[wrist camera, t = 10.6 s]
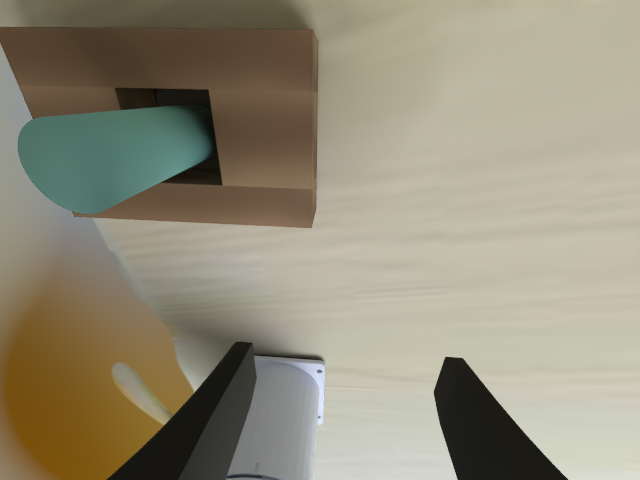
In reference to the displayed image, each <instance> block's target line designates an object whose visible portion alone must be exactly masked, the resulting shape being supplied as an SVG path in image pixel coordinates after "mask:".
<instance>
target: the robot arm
mask: <svg viewBox="0 0 640 480" xmlns="http://www.w3.org/2000/svg"><path fill="white" fill-rule="evenodd" d="M324 382H325V363H324V362H323V361H320V360H307V359H294V358H281V357H267V356H254V353H253V345H252V343H247V342H236V343H234V344H233V346H232V347H231V348H230V350H229V351H228V352H227V354H226V355H225V356H224V358H223V359H222V360H221V361H220V363H219V364H218V365H217V366H216V368H215V369H214V370H213V371H212V373H211V374H210V375H209V376H208V377H207V379H206V380H205V381H204V382H203V383H202V385H201V386H200V387H199V388H198V389H197V390H196V392H195V393H194V394H193V395H192V396H191V398H189V400H188V401H187V402H186V403H185V404H184V405H183V406H182V407H181V408H180V409H179V411H178V412H177V413H176V414H175V415H174V416H173V417H172V418H171V419H170V420H169V421H168V422H167V423H166V424H165V425H164V426H163V427H162V428H161V430H160V431H158V433H157V434H155V435H154V436H153V437H152V438H151V439H150V440H149V441H148V442H147V443H146V444H145V445H144V446H143V447H142V448H141V449H140V450H139V451H138V452H137V453H136V454H134V456H132V457H131V458H130V459H129V460H128V461H127V462H126V463H125V464H124V465H122V466H121V467H120V468H119V469H118V470H117V471H116V472H115V473H114V474H112V475H111V476H110V477H109V478H108V479H107V480H313V472H314V459H315V446H316V434H317V425H321V424H322V423H323V407H324ZM434 396H435V402H436V407H437V412H438V416H439V421H440V425H441V428H442V431H443V435H444V438H445V441H446V444H447V447H448V451H449V454H450V457H451V460H452V463H453V466H454V469H455V472H456V476H457V479H458V480H568V479H567V478H566V477H565V476H564V475H563V474H562V473H561V472H560V471H559V470H558V469H557V468H556V467H555V466H554V465H553V464H552V463H551V461H550V460H549V459H548V458H547V457H546V456H545V455H544V454H543V453H542V452H541V451H540V450H539V449H538V447H537V446H536V445H535V444H534V443H533V442H532V441H531V440H530V439H529V438H528V436H527V435H526V434H525V433H524V432H523V431H522V430H521V429H520V427H519V426H518V425H517V424H516V423H515V422H514V420H513V419H512V418H511V417H510V416H509V414H508V413H507V412H506V411H505V410H504V409H503V407H502V406H501V405H500V404H499V403H498V401H497V400H496V399H495V398H494V397H493V395H492V394H491V393H490V392H489V390H488V389H487V388H486V387H485V385H484V384H483V383H482V382H481V380H480V379H479V378H478V377H477V375H476V374H475V373H474V372H473V370H472V369H471V368H470V367H469V365H468V364H467V363H466V362H465V360H464V359H463V358H454V357H445V360H444V363H443V366H442V369H441V372H440V375H439V378H438V381H437V384H436V387H435V390H434Z"/></svg>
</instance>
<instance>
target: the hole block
mask: <svg viewBox="0 0 640 480" xmlns="http://www.w3.org/2000/svg"><path fill="white" fill-rule="evenodd" d="M0 43H1V45H2V48H3V50H4V52H5V55H6V57H7V59H8V62H9V64H10V66H11V69H12V71H13V73H14V76H15V78H16V80H17V83H18V85H19V87H20V90H21V92H22V95H23V97H24V99H25V101H26V104H27V106H28V109H29V111H30V113H31V116H32V118H33V119H35V118H39V117H48V116H59V115H71V114H83V113H94V112H106V111H118V110H129V109H141V108H153V107H157V104H156V100H155V95H154V91H153V88H159V89H207V90H209V96H210V103H211V110H212V116H213V123H214V130H215V137H216V143H217V150H218V157H219V164H220V170H221V171H218V170H191V169H186V170H184V171H182V172H180V173H178V174H176V175H174V176H172V177H170V178H168V179H166V180H164V181H162V182H160V183H158V184H156V185H154V186H152V187H150V188H148V189H146V190H144V191H142V192H140V193H138V194H136V195H134V196H132V197H130V198H128V199H126V200H124V201H122V202H120V203H118V204H116V205H114V206H112V207H110V208H108V209H106V210H104V211H102V212H99V213H95V214H82V213H77V212H73V211H72V212H73V214H74V216H75V217H93V218H114V219H135V220H155V221H176V222H197V223H217V224H238V225H258V226H279V227H300V228H312V224H313V220H314V215H315V211H316V178H317V98H318V40H317V38H316V36H315V34H314V32H313V30H312V29H194V28H71V27H0Z"/></svg>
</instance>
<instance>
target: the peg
mask: <svg viewBox="0 0 640 480" xmlns="http://www.w3.org/2000/svg"><path fill="white" fill-rule="evenodd" d="M18 152H19V157H20V160H21V163H22V165H23V168H24V170H25V171H26V173H27V175H28V176H29V178H30V179H31V181H32V182H33V183H34V185H35V186H36V187H37V188H38V189H39V190H40V191H41V192H42V193H43V194H44V195H45V196H46V197H48V198H49V199H50V200H52V201H53V202H55V203H56V204H58V205H60V206H61V207H63V208H66V209H68V210H70V211H73V212H77V213H82V214H95V213H99V212H102V211H104V210H106V209H108V208H110V207H112V206H114V205H116V204H118V203H120V202H122V201H124V200H126V199H128V198H130V197H132V196H134V195H136V194H138V193H140V192H142V191H144V190H146V189H148V188H150V187H152V186H154V185H156V184H158V183H160V182H162V181H164V180H166V179H168V178H170V177H172V176H174V175H176V174H178V173H180V172H182V171H184V170H186V169H188V168H190V167H192V166H194V165H196V164H198V163H200V162H202V161H204V160H206V159H208V158H210V157H212V156H214V155H216V154H217V153H218V150H217V143H216V137H215V130H214V123H213V116H212V111H211V110H210V109H209V108H207V107H205V106H203V105H199V104H188V105H176V106H164V107H153V108H141V109H129V110H118V111H106V112H94V113H83V114H71V115H59V116H48V117H39V118H35V119H33V120H31V121H29V122H28V123H26V125H25V126H24V127H23V128H22V130H21V131H20V134H19V138H18Z"/></svg>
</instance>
